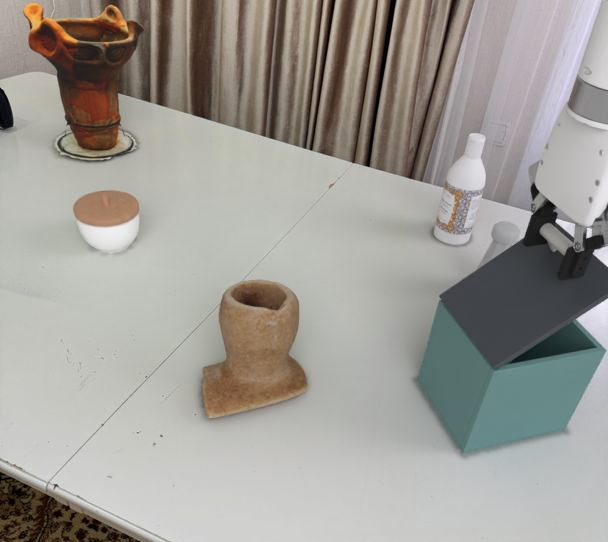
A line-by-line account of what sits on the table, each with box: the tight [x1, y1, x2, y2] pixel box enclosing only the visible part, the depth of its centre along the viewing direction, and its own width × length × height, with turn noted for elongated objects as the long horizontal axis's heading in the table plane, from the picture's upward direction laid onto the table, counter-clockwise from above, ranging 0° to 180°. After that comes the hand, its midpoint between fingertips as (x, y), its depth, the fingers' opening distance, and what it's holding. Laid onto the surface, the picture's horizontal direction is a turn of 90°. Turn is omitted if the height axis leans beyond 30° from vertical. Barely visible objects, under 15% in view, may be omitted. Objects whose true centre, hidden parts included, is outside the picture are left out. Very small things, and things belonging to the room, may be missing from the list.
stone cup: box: [201, 279, 309, 419], centre depth 81 cm, size 15×12×15 cm
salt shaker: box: [475, 221, 521, 271], centre depth 103 cm, size 6×6×13 cm
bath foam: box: [433, 132, 487, 246], centre depth 113 cm, size 7×7×20 cm
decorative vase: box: [22, 2, 145, 161], centre depth 130 cm, size 21×23×28 cm
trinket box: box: [72, 189, 141, 254], centre depth 107 cm, size 11×11×9 cm
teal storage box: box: [417, 299, 607, 454], centre depth 82 cm, size 16×14×15 cm
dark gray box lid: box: [438, 221, 608, 370], centre depth 71 cm, size 16×14×5 cm
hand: (551, 258), depth 71 cm, fingers closed on dark gray box lid, 6 cm apart
